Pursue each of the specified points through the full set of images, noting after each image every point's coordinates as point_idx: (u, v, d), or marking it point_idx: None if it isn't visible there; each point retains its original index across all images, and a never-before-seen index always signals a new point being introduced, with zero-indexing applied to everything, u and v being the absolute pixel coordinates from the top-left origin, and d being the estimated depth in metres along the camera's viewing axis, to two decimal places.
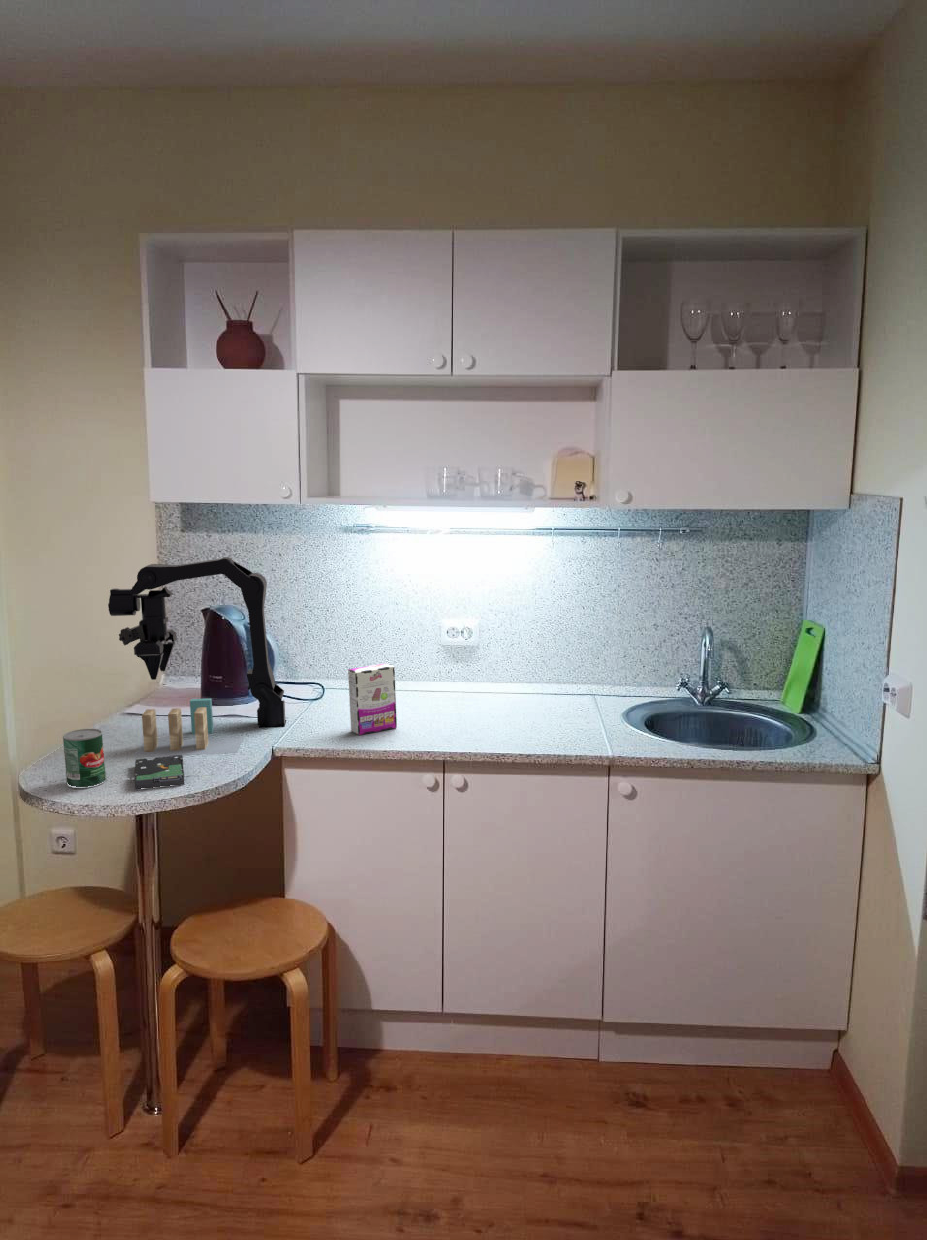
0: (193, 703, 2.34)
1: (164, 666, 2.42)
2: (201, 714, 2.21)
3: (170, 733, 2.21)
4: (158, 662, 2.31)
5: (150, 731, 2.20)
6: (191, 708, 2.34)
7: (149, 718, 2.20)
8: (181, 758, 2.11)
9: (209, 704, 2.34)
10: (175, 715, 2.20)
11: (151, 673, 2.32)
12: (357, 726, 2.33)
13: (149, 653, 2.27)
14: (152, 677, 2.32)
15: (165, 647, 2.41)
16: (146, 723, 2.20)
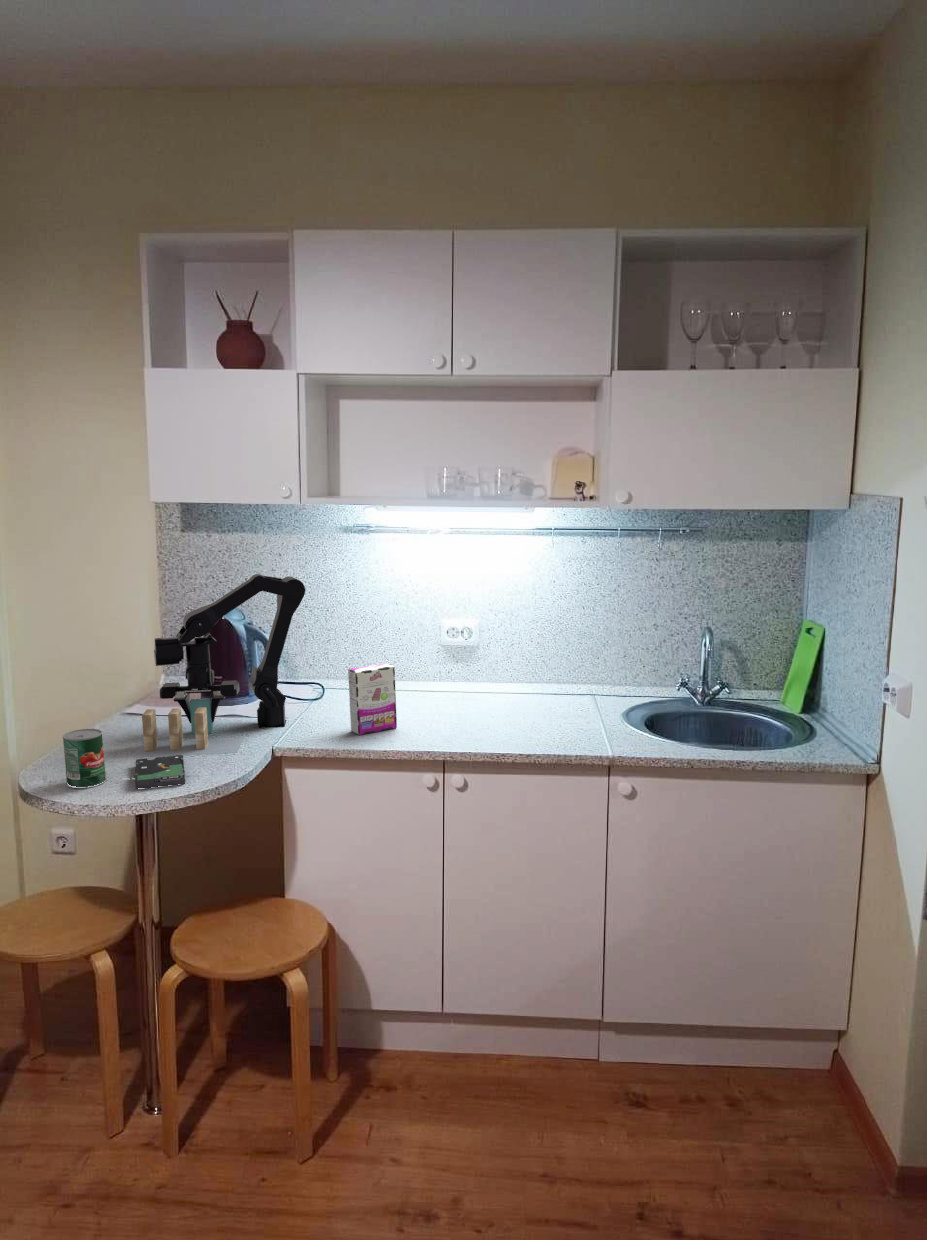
0: (193, 703, 2.34)
1: (211, 718, 2.35)
2: (201, 714, 2.21)
3: (170, 733, 2.21)
4: None
5: (150, 731, 2.20)
6: (191, 708, 2.34)
7: (149, 718, 2.20)
8: (181, 758, 2.11)
9: (209, 704, 2.34)
10: (175, 715, 2.20)
11: None
12: (357, 726, 2.33)
13: None
14: None
15: None
16: (146, 723, 2.20)
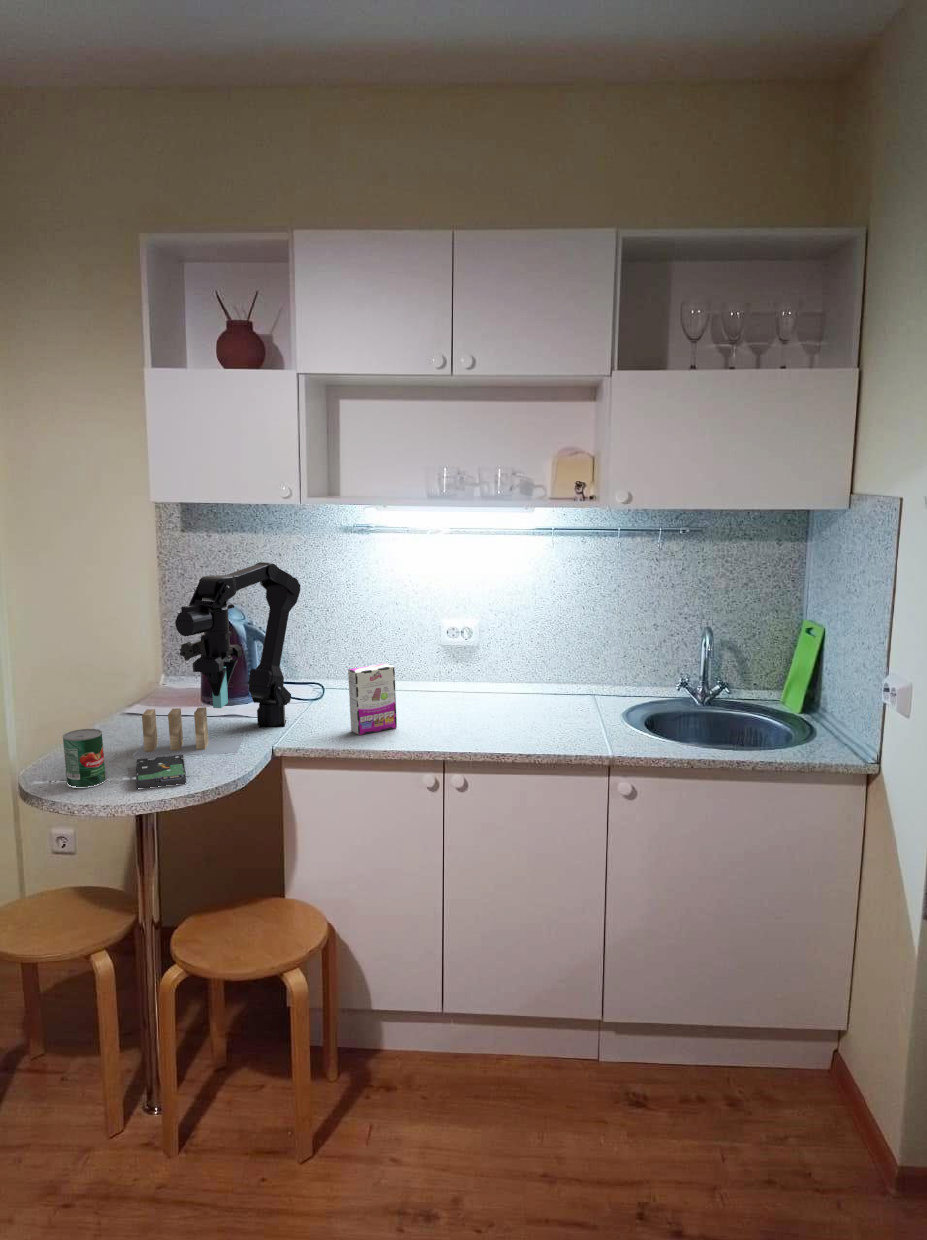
0: None
1: None
2: (201, 714, 2.21)
3: (170, 733, 2.21)
4: (220, 678, 2.19)
5: (150, 731, 2.20)
6: None
7: (149, 718, 2.20)
8: (182, 758, 2.11)
9: None
10: (175, 715, 2.20)
11: (214, 689, 2.21)
12: (357, 726, 2.33)
13: (208, 670, 2.14)
14: (215, 693, 2.21)
15: (227, 664, 2.26)
16: (146, 723, 2.20)
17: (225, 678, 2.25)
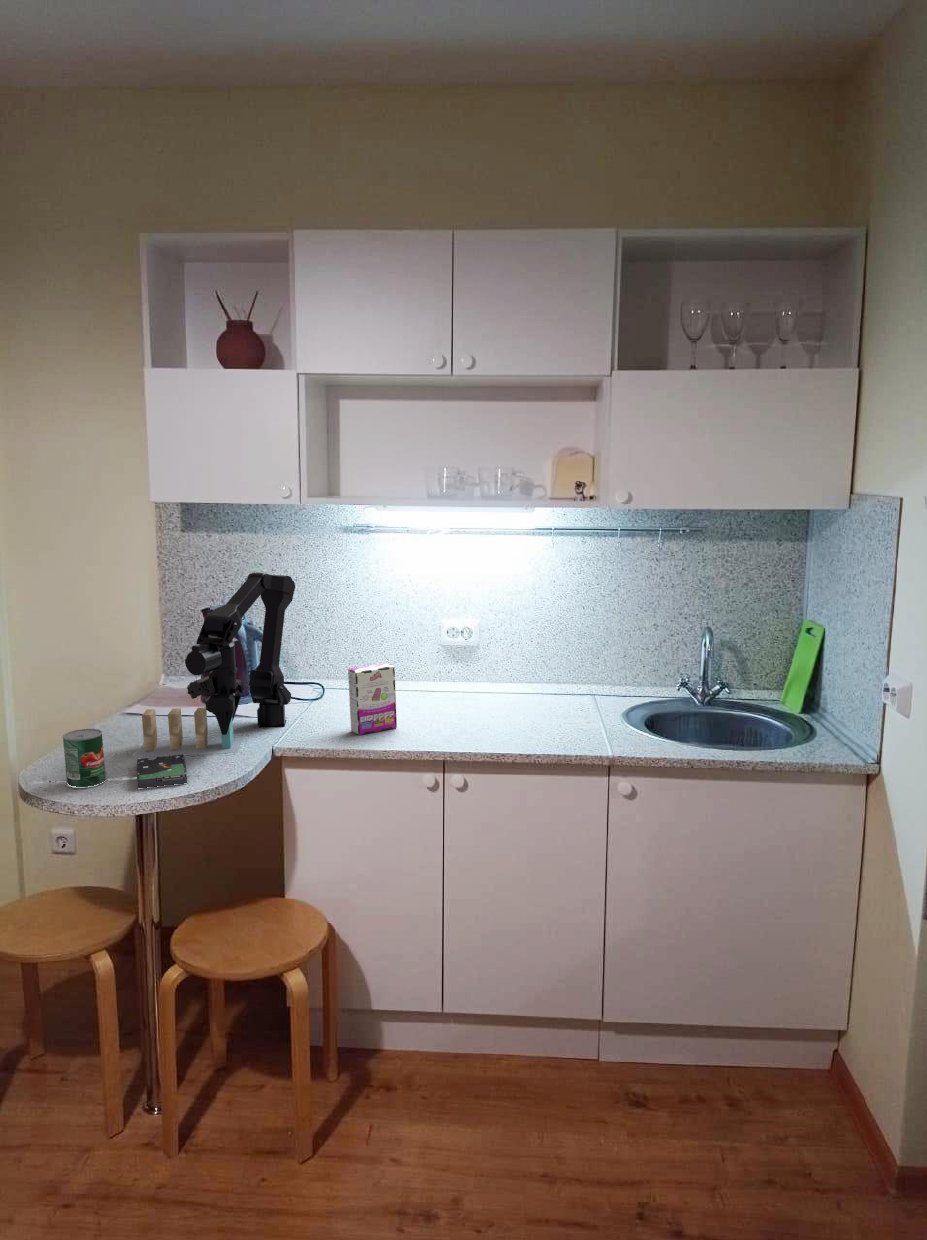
0: None
1: None
2: (201, 714, 2.21)
3: (170, 733, 2.21)
4: (230, 717, 2.18)
5: (150, 731, 2.20)
6: None
7: (149, 718, 2.20)
8: (182, 757, 2.11)
9: None
10: (175, 715, 2.20)
11: (222, 728, 2.19)
12: (357, 726, 2.33)
13: (222, 708, 2.14)
14: (223, 732, 2.20)
15: None
16: (146, 723, 2.20)
17: None
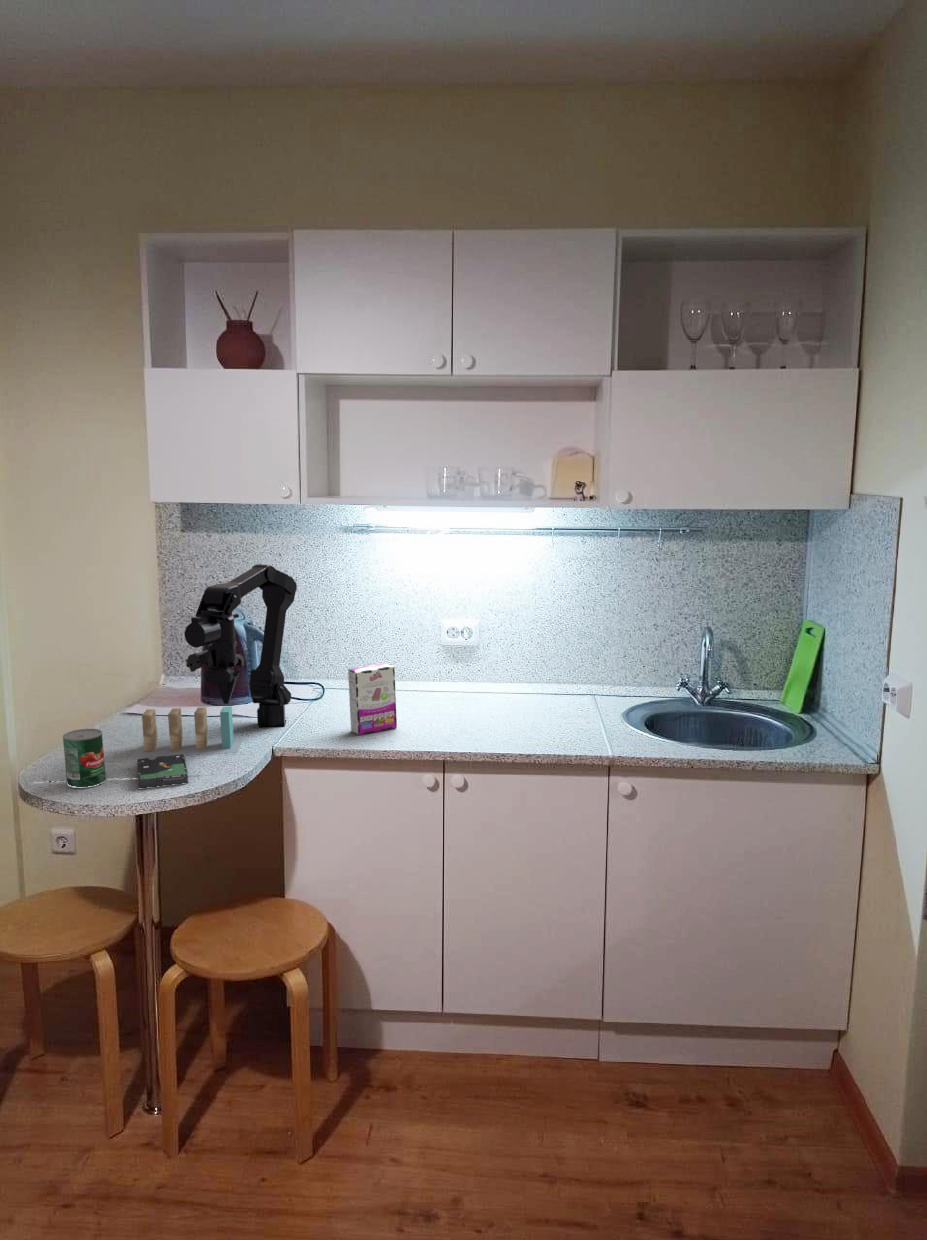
0: (229, 713, 2.22)
1: None
2: (201, 714, 2.21)
3: (170, 733, 2.21)
4: (231, 686, 2.21)
5: (150, 731, 2.20)
6: (229, 719, 2.22)
7: (149, 718, 2.20)
8: (183, 757, 2.12)
9: (231, 710, 2.26)
10: (175, 715, 2.20)
11: (224, 697, 2.22)
12: (357, 726, 2.33)
13: (219, 681, 2.13)
14: (224, 701, 2.23)
15: None
16: (146, 723, 2.20)
17: (231, 718, 2.26)
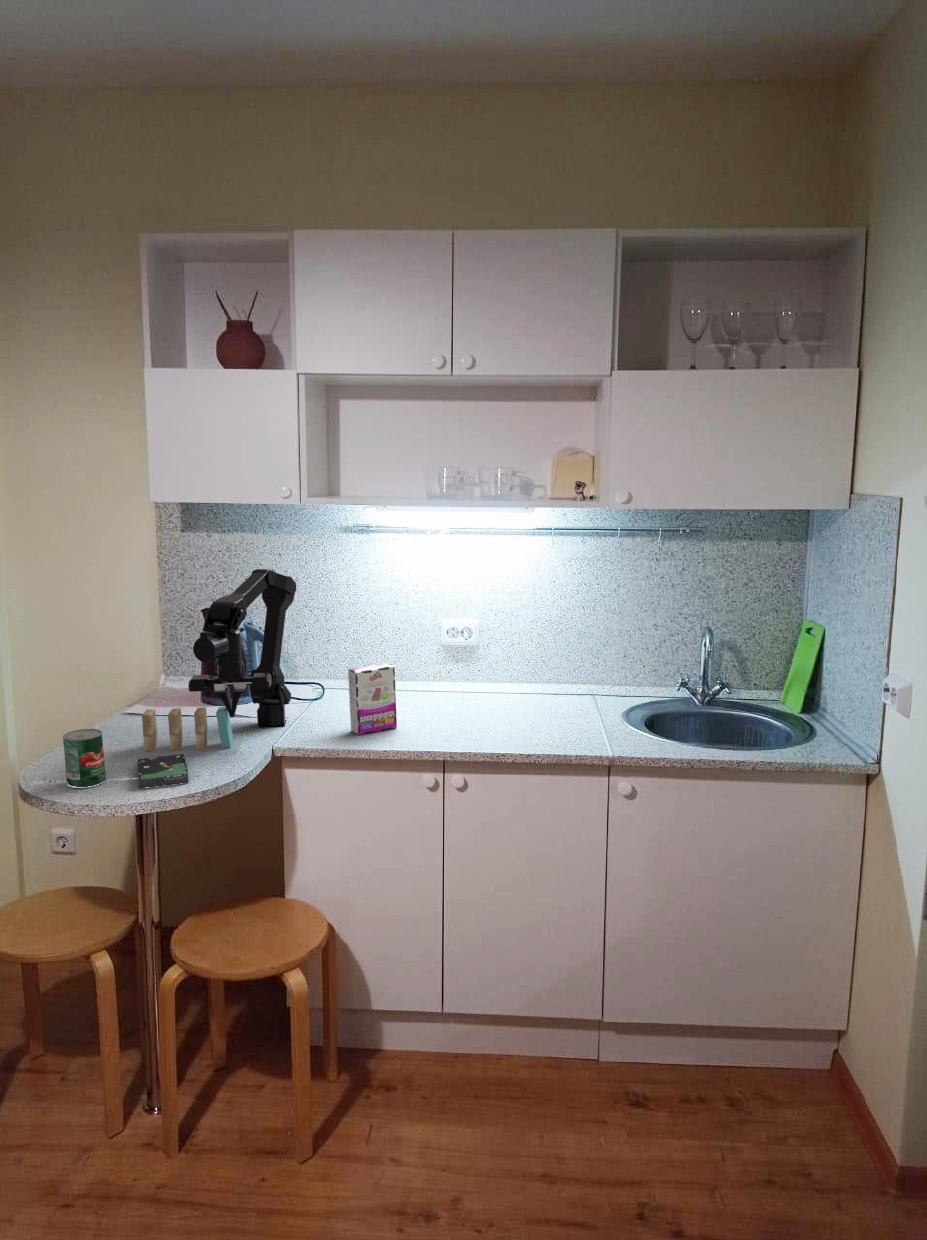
0: (225, 713, 2.22)
1: None
2: (201, 714, 2.21)
3: (170, 733, 2.21)
4: None
5: (150, 731, 2.20)
6: (226, 718, 2.22)
7: (149, 718, 2.20)
8: (183, 757, 2.12)
9: None
10: (175, 715, 2.20)
11: None
12: (357, 726, 2.33)
13: None
14: None
15: None
16: (146, 723, 2.20)
17: (228, 717, 2.26)
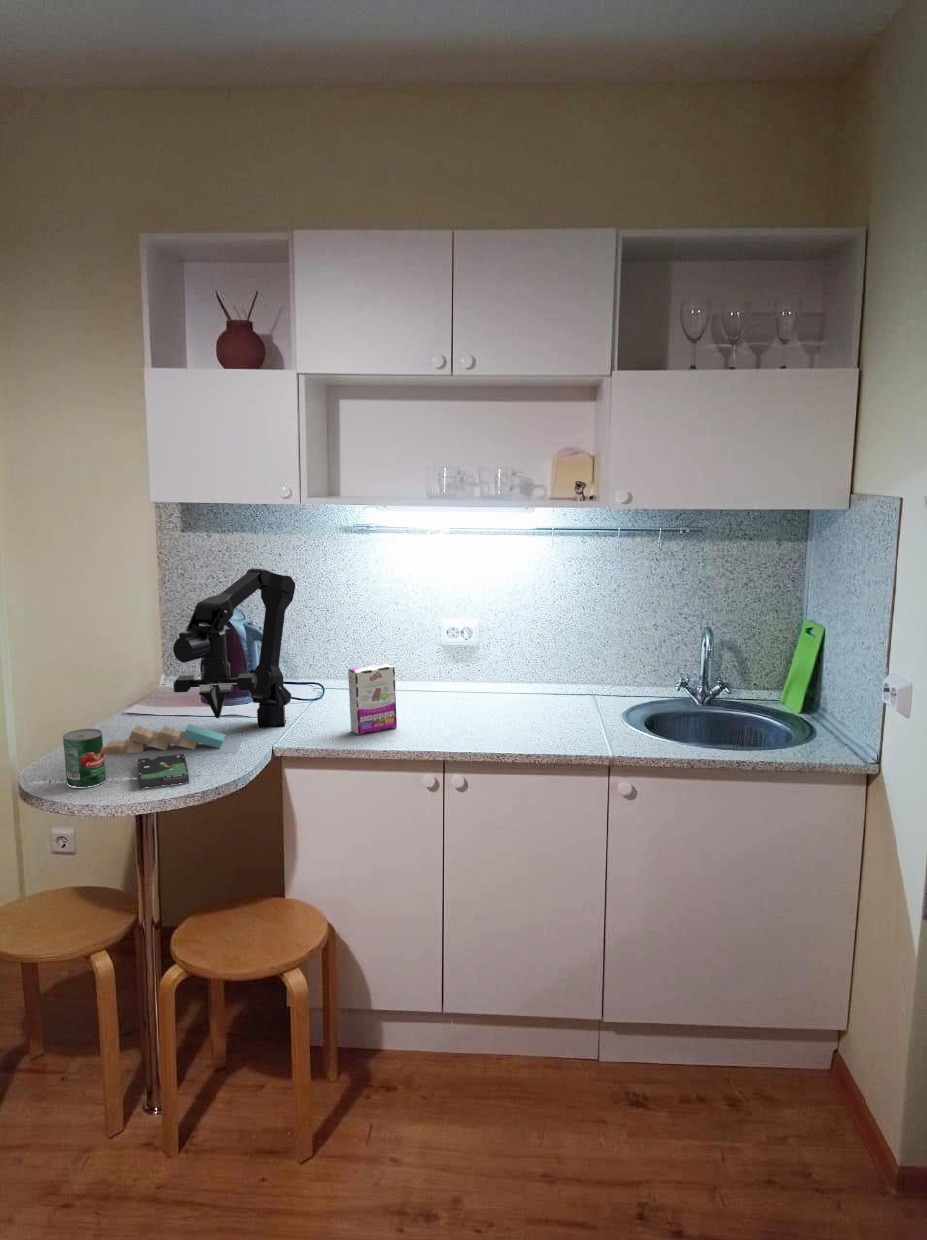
0: (188, 729, 2.22)
1: None
2: (160, 733, 2.20)
3: (149, 744, 2.21)
4: None
5: (121, 746, 2.20)
6: (193, 732, 2.22)
7: (107, 748, 2.20)
8: (183, 757, 2.12)
9: (193, 725, 2.26)
10: (132, 732, 2.20)
11: None
12: (357, 726, 2.33)
13: None
14: None
15: None
16: (113, 750, 2.20)
17: (199, 728, 2.25)
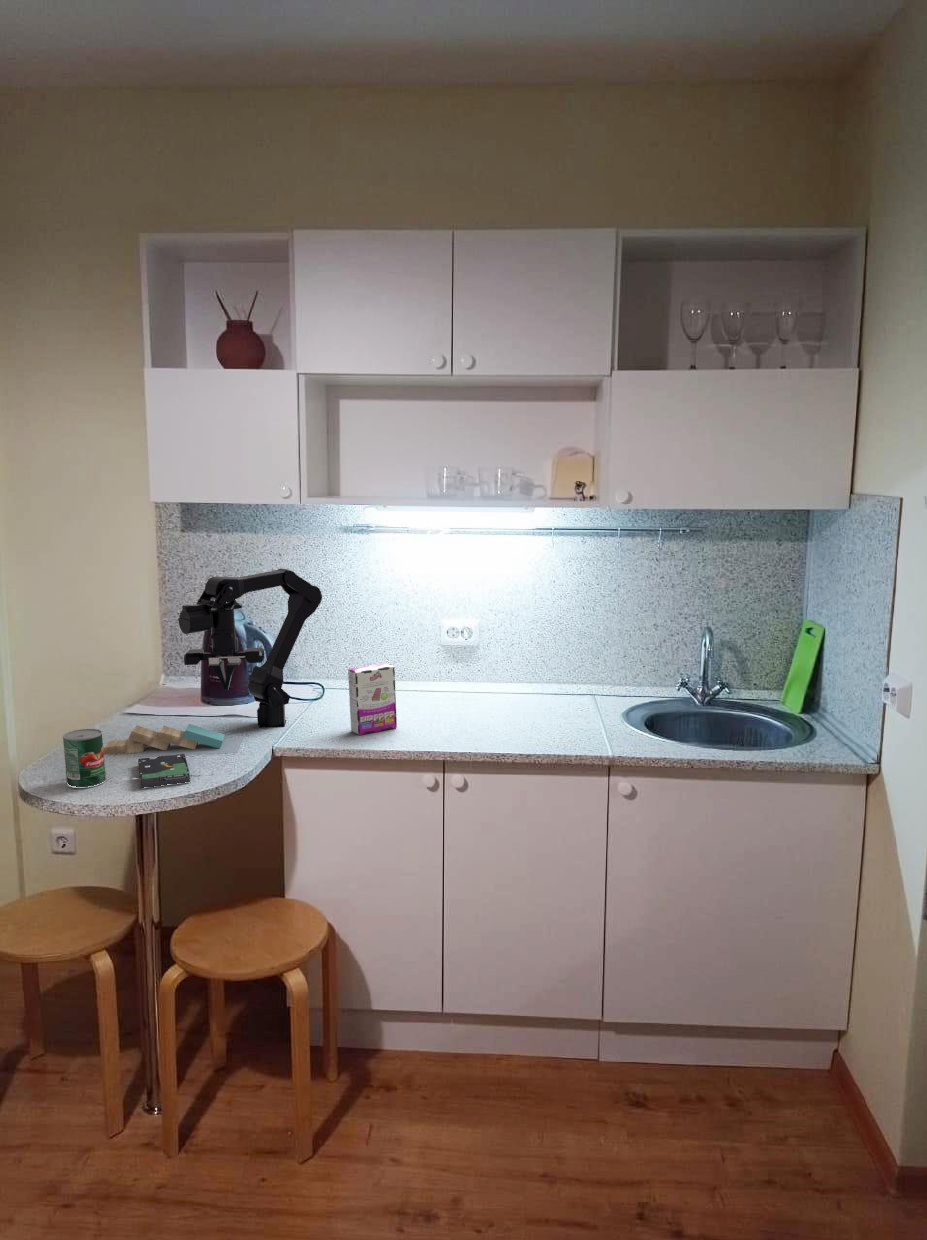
0: (188, 729, 2.22)
1: None
2: (160, 733, 2.20)
3: (149, 744, 2.21)
4: None
5: (121, 746, 2.20)
6: (193, 732, 2.22)
7: (107, 748, 2.20)
8: (184, 757, 2.12)
9: (193, 725, 2.26)
10: (132, 732, 2.20)
11: None
12: (357, 726, 2.33)
13: None
14: None
15: None
16: (113, 750, 2.20)
17: (199, 728, 2.25)
